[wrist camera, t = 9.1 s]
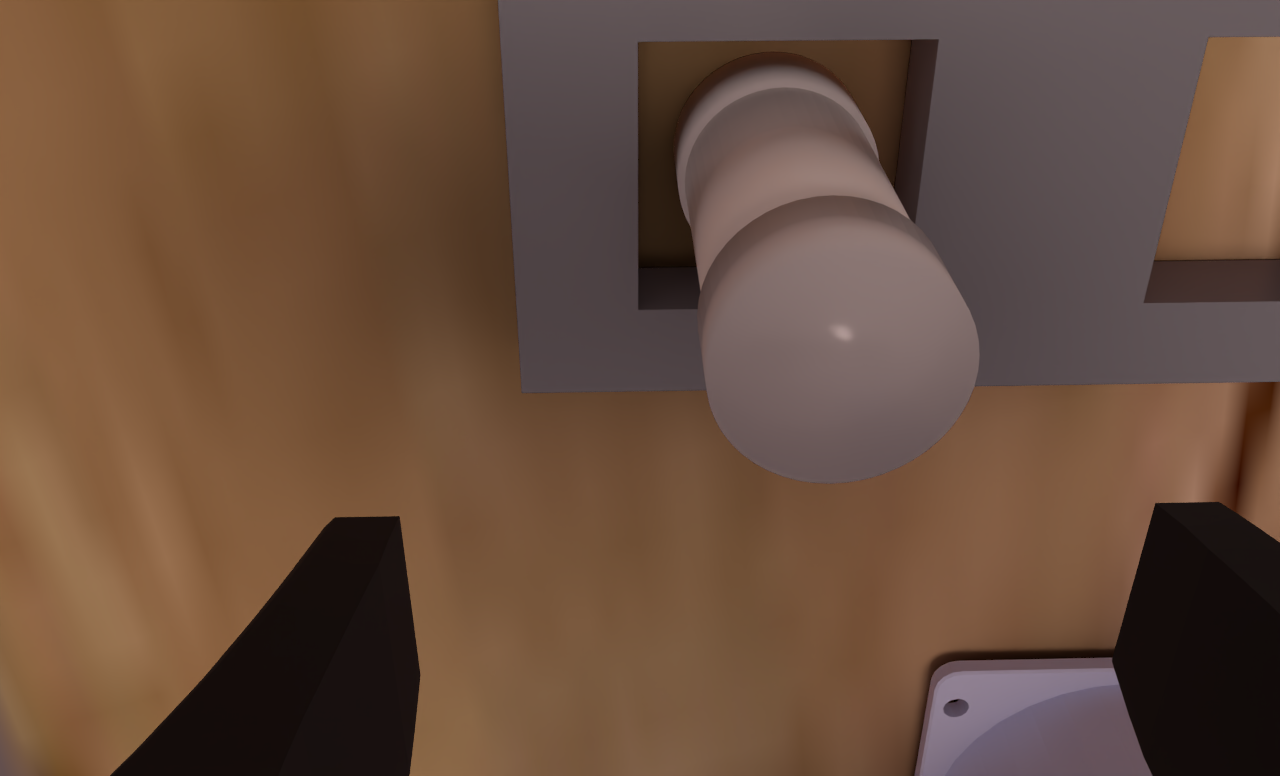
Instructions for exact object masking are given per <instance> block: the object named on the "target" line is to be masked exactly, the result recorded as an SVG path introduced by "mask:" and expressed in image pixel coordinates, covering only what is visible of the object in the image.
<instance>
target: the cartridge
mask: <svg viewBox="0 0 1280 776" xmlns="http://www.w3.org/2000/svg"><path fill="white" fill-rule="evenodd" d="M673 149H674V162H675V169H676V177H677V184H678V191H679V197H680V202H681V206H682V209H683V212H684V215H685V217H686V219H687V221H688V223H689V225H690V227H691V232H692V238H693V245H694V251H695V258H696V265H697V271H698V278H699V284H700V291H701V292H700V296H699V301H698V311H697V321H698V333H699V340H700V347H701V355H702V362H703V369H704V376H705V383H706V390H707V395H708V400H709V405H710V408H711V410H712V413H713V416H714V418H715V420H716V422H717V424H718V426H719V428H720V429H721V431H722V433H723V434H724V435H725V436H726V438H727V439H728V440H729V442H730V443H731V444H732V445H733V446H734V447H735V448H736V449H737V450H738V451H739V452H740V453H741V454H742V455H744V456H745V457H747V458H748V459H749V460H751V461H752V462H753V463H755V464H757V465H759V466H760V467H762V468H764V469H766V470H768V471H770V472H773V473H775V474H778V475H780V476H783V477H787V478H790V479H794V480H798V481H805V482H811V483H830V484H832V483H846V482H853V481H859V480H864V479H868V478H872V477H875V476H879V475H882V474H884V473H887V472H889V471H892V470H894V469H897V468H899V467H901V466H903V465H905V464H907V463H908V462H910V461H912V460H914V459H915V458H917V457H918V456H920V455H921V454H923V453H924V452H926V451H927V450H928V449H929V448H931V447H932V446H933V445H934V444H935V443H937V442H938V441H939V440H940V439H941V438H942V437H943V436H944V435H945V434H946V433H947V432H948V431H949V429H950V428H951V427H952V426H953V424H954V423H955V422H956V420H957V419H958V418H959V416H960V415H961V413H962V412H963V410H964V408H965V406H966V404H967V403H968V401H969V398H970V396H971V393H972V391H973V388H974V386H975V382H976V378H977V374H978V368H979V357H980V353H979V339H978V334H977V330H976V325H975V323H974V320H973V318H972V315H971V313H970V310H969V308H968V307H967V305H966V303H965V301H964V299H963V298H962V296H961V294H960V292H959V290H958V288H957V287H956V285H955V283H954V281H953V279H952V278H951V276H950V274H949V272H948V270H947V268H946V267H945V265H944V263H943V261H942V259H941V258H940V256H939V254H938V252H937V251H936V249H935V247H934V245H933V244H932V242H931V241H930V240H929V238H928V237H927V236H926V235H925V233H924V232H923V231H922V230H921V229H920V228H919V227H918V226H917V225H916V224H914V223H913V222H912V221H911V220H910V218H909V216H908V215H907V213H906V211H905V209H904V207H903V205H902V203H901V201H900V200H899V198H898V196H897V194H896V192H895V190H894V188H893V186H892V185H891V183H890V181H889V179H888V177H887V175H886V173H885V171H884V170H883V168H882V166H881V164H880V162H879V157H878V151H877V147H876V143H875V140H874V137H873V135H872V133H871V130H870V128H869V126H868V125H867V123H866V121H865V119H864V117H863V116H862V114H861V112H860V110H859V108H858V106H857V105H856V103H855V101H854V99H853V97H852V96H851V94H850V92H849V91H848V89H847V88H846V87H845V85H844V84H843V83H842V82H841V80H840V79H839V78H838V77H837V76H835V75H834V74H833V73H832V72H831V71H830V70H828V69H827V68H825V67H824V66H822V65H821V64H819V63H817V62H815V61H813V60H811V59H808V58H805V57H802V56H800V55H795V54H790V53H783V52H766V53H757V54H753V55H748V56H745V57H742V58H739V59H736V60H734V61H732V62H730V63H728V64H725V65H723V66H722V67H720V68H719V69H717V70H716V71H714V72H713V73H712V74H710V75H709V76H708V77H707V78H706V79H705V80H703V81H702V82H701V84H700V85H699V86H698V87H697V88H696V89H695V90H694V91H693V93H692V94H691V96H690V97H689V99H688V100H687V102H686V104H685V106H684V107H683V109H682V111H681V114H680V116H679V119H678V122H677V126H676V130H675V135H674V146H673Z"/></svg>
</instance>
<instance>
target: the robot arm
mask: <svg viewBox="0 0 1280 776" xmlns="http://www.w3.org/2000/svg"><path fill="white" fill-rule="evenodd" d="M419 683H420V669H419V661H418V653H417V646H416V638H415V631H414V623H413V615H412V608H411V600H410V593H409V585H408V577H407V570H406V562H405V554H404V547H403V539H402V532H401V524H400V516H392V517H335V518H334V519H333V520H332V521H331V522H330V523H329V524H327V525H326V526H325V527H324V529H323V530H322V531H321V533H320V534H319V535H318V537H317V538H316V539H315V540H314V542H313V543H312V544H311V546H310V547H309V548H308V550H307V551H306V552H305V554H304V555H303V556H302V558H301V559H300V560H299V562H298V563H297V564H296V566H295V567H294V568H293V570H292V571H291V572H290V573H289V575H288V576H287V577H286V579H285V580H284V581H283V582H282V584H281V585H280V586H279V588H278V589H277V590H276V591H275V593H274V594H273V595H272V596H271V598H270V599H269V600H268V601H267V603H266V604H265V605H264V606H263V608H262V609H261V610H260V611H259V613H258V614H257V615H256V616H255V618H254V619H253V620H252V621H251V622H250V624H249V625H248V626H247V627H246V628H245V630H244V631H243V632H242V633H241V634H240V635H239V637H238V638H237V639H236V640H235V641H234V643H233V644H232V645H231V646H230V647H229V648H228V650H227V651H226V652H225V653H224V654H223V656H222V657H221V658H220V659H219V660H218V662H217V663H216V664H215V665H214V666H213V667H212V669H211V670H210V671H209V672H208V673H207V674H206V675H205V677H204V678H203V679H202V680H201V681H200V682H199V683H198V685H197V686H196V687H195V688H194V689H193V690H192V691H191V692H190V693H189V694H188V695H187V696H186V697H185V698H184V700H183V701H182V702H181V703H180V704H179V705H178V706H177V707H176V708H175V709H174V710H173V711H172V712H171V713H170V714H169V716H168V717H167V718H166V719H165V720H164V721H163V722H162V723H161V724H160V725H159V726H158V727H157V728H156V729H155V730H154V732H153V733H152V734H151V735H150V736H149V737H148V738H147V739H146V740H145V741H144V742H143V743H142V744H141V745H140V746H139V747H138V748H137V749H136V750H135V751H134V752H133V753H132V755H131V756H129V757H128V758H127V759H126V760H125V761H124V762H123V763H122V764H121V765H120V766H119V767H118V768H117V769H116V770H115V771H114V772H113V773H112V774H111V775H110V776H409V774H410V766H411V757H412V749H413V740H414V732H415V722H416V713H417V703H418V693H419ZM955 699H960V700H958V701H957V702H952V703H948V702H949V701H951V700H955ZM914 776H1280V543H1279V542H1278V541H1276V540H1275V539H1274V538H1272V537H1271V536H1269V535H1268V534H1267V533H1265V532H1264V531H1262V530H1261V529H1259V528H1258V527H1256V526H1255V525H1253V524H1252V523H1250V522H1249V521H1247V520H1246V519H1245V518H1243V517H1242V516H1240V515H1238V514H1237V513H1235V512H1234V511H1232V510H1231V509H1229V508H1227V507H1226V506H1224V505H1223V504H1221V503H1219V502H1197V503H1155V507H1154V510H1153V514H1152V518H1151V521H1150V525H1149V528H1148V532H1147V536H1146V539H1145V543H1144V546H1143V550H1142V554H1141V557H1140V561H1139V564H1138V568H1137V572H1136V575H1135V579H1134V582H1133V586H1132V590H1131V593H1130V597H1129V600H1128V604H1127V608H1126V611H1125V615H1124V618H1123V622H1122V626H1121V629H1120V633H1119V636H1118V640H1117V644H1116V647H1115V651H1114V654H1113V658H1066V659H1017V660H968V661H953V662H948V663H946V664H944V665H942V666H940V667H939V668H938V669H937V670H936V671H935V672H934V674H933V676H932V678H931V683H930V689H929V694H928V700H927V706H926V712H925V718H924V723H923V729H922V735H921V741H920V746H919V752H918V758H917V764H916V770H915V775H914Z"/></svg>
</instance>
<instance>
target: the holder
mask: <svg viewBox="0 0 1280 776" xmlns="http://www.w3.org/2000/svg"><path fill="white" fill-rule="evenodd" d="M498 10H499V27H500V43H501V60H502V76H503V93H504V109H505V126H506V142H507V158H508V175H509V191H510V208H511V224H512V241H513V257H514V274H515V290H516V307H517V323H518V339H519V356H520V372H521V389H522V393H558V392H625V391H692V390H706V383H705V376H704V369H703V362H702V355H701V347H700V340H699V333H698V321H697V311H698V301H699V296H700V292H701V291H700V284H699V278H698V271H697V267H665V268H638V42H674V41H795V40H912V43H911V52H910V61H909V69H908V78H907V86H906V95H905V103H904V112H903V120H902V129H901V137H900V146H899V155H898V163H897V172H896V180H895V189H894V190H895V192H896V194H897V196H898V198H899V200H900V201H901V203H902V205H903V207H904V209H905V211H906V213H907V215H908V216H909V218H910V220H911V221H912V222H913V223H914V224H916V225H917V226H918V227H919V228H920V229H921V230H922V231H923V232H924V233H925V235H926V236H927V237H928V238H929V240H930V241H931V242H932V244H933V245H934V247H935V249H936V251H937V252H938V254H939V256H940V258H941V259H942V261H943V263H944V265H945V267H946V268H947V270H948V272H949V274H950V276H951V278H952V279H953V281H954V283H955V285H956V287H957V288H958V290H959V292H960V294H961V296H962V298H963V299H964V301H965V303H966V305H967V307H968V308H969V310H970V313H971V315H972V318H973V320H974V323H975V325H976V330H977V334H978V339H979V353H980V357H979V368H978V374H977V378H976V382H975V386H1025V385H1091V384H1158V383H1225V382H1280V260H1220V261H1154V258H1155V254H1156V250H1157V245H1158V241H1159V237H1160V233H1161V229H1162V225H1163V221H1164V217H1165V213H1166V209H1167V205H1168V200H1169V196H1170V192H1171V188H1172V184H1173V180H1174V176H1175V172H1176V168H1177V164H1178V160H1179V156H1180V151H1181V147H1182V143H1183V139H1184V135H1185V131H1186V127H1187V123H1188V119H1189V115H1190V111H1191V107H1192V102H1193V98H1194V94H1195V90H1196V86H1197V82H1198V78H1199V74H1200V70H1201V66H1202V62H1203V57H1204V53H1205V49H1206V45H1207V41H1208V37H1279V36H1280V0H498Z"/></svg>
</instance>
